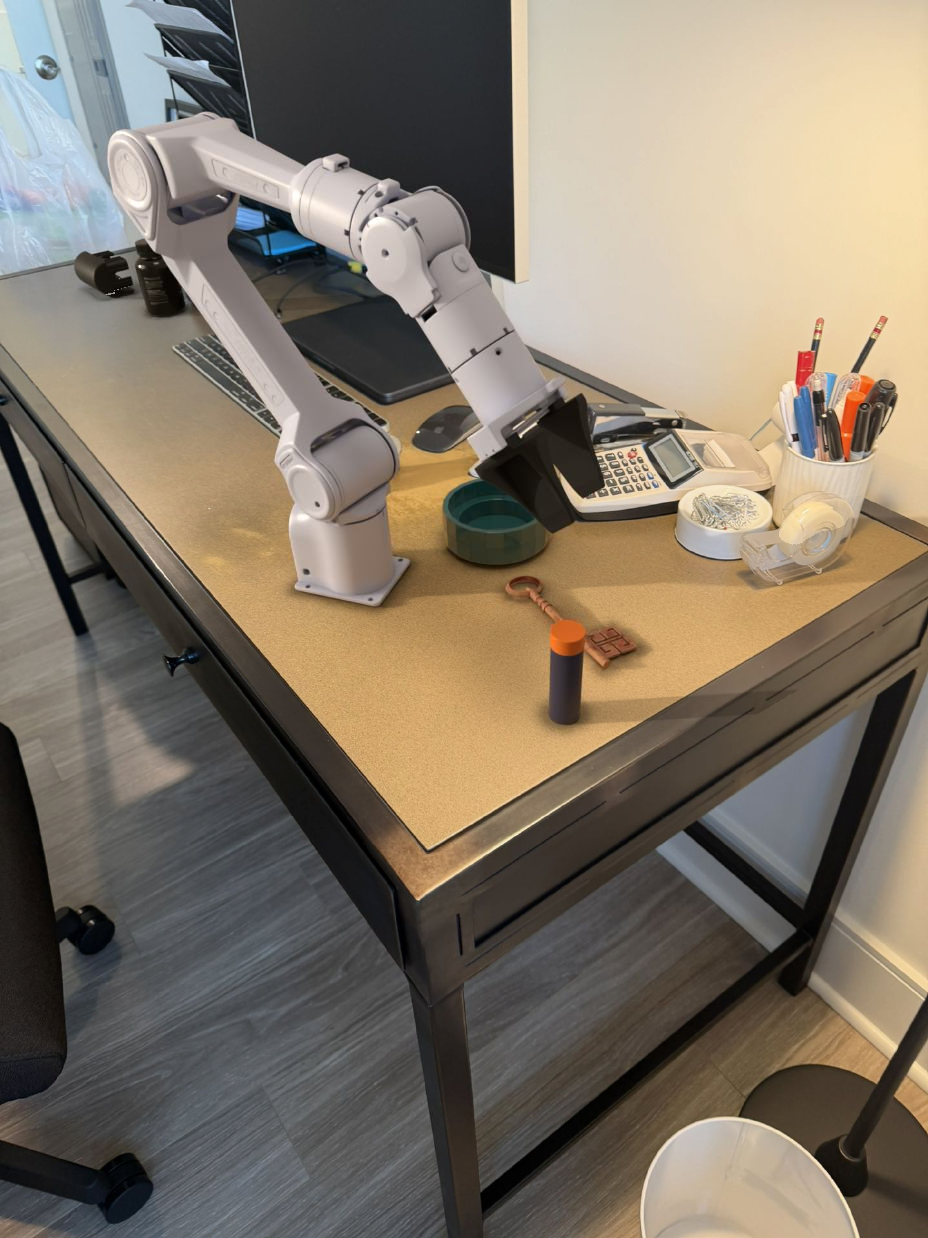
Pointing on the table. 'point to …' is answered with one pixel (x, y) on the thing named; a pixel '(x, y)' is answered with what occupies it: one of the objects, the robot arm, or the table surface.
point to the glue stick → (566, 671)
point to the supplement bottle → (157, 282)
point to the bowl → (490, 525)
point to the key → (596, 638)
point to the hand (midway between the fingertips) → (579, 508)
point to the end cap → (103, 273)
